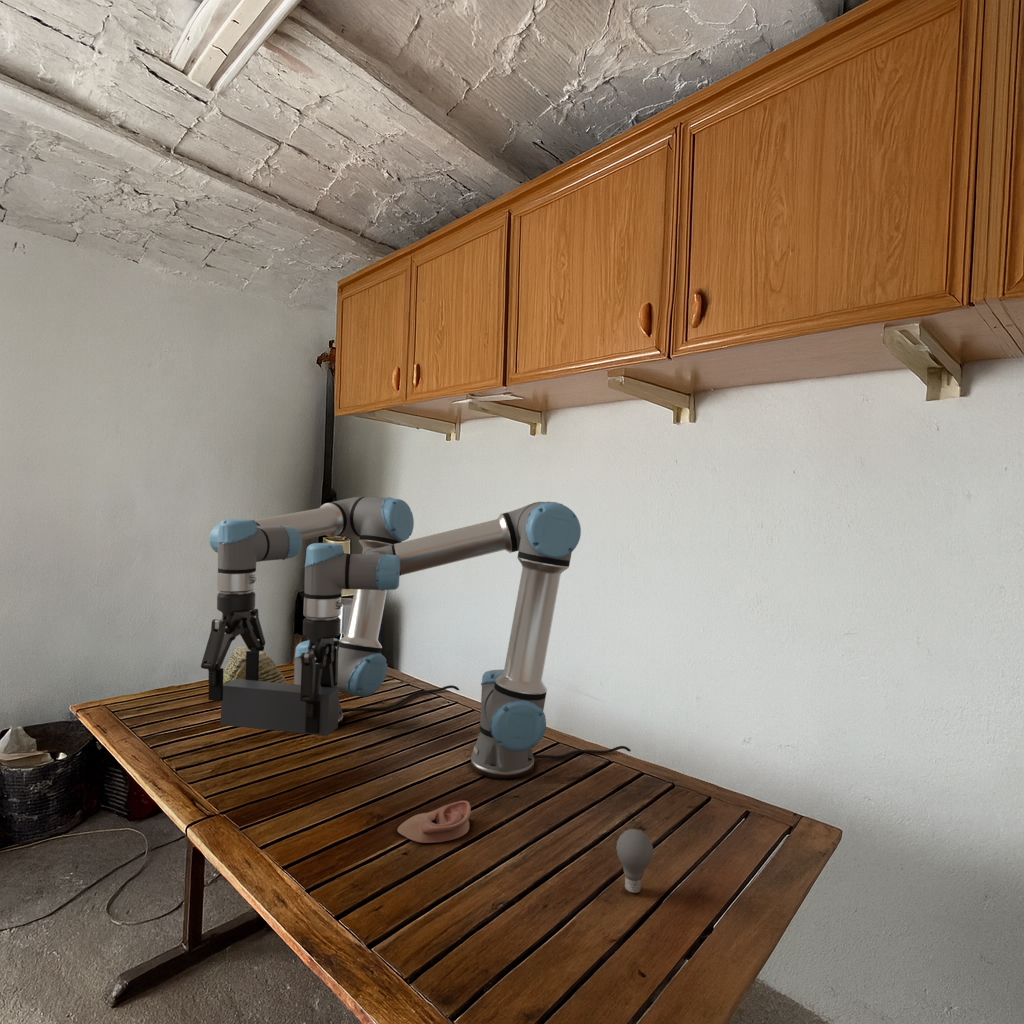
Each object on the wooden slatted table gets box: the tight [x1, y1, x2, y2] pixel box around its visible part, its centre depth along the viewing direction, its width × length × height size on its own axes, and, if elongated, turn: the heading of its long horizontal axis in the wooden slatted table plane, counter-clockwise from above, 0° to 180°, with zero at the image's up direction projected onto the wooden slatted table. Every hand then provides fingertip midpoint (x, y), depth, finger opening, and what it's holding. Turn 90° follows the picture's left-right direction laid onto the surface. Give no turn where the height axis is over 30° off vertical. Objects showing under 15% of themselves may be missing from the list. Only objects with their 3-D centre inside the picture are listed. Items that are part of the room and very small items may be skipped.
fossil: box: [223, 646, 287, 685], centre depth 198 cm, size 9×18×15 cm, turn 132°
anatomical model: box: [396, 800, 472, 844], centre depth 123 cm, size 13×4×12 cm
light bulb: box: [615, 828, 654, 894], centre depth 106 cm, size 6×6×10 cm
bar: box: [220, 679, 340, 737], centre depth 134 cm, size 24×5×8 cm, turn 81°
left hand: (234, 689), depth 136 cm, fingers open, 13 cm apart
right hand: (318, 727), depth 133 cm, fingers closed on bar, 5 cm apart
